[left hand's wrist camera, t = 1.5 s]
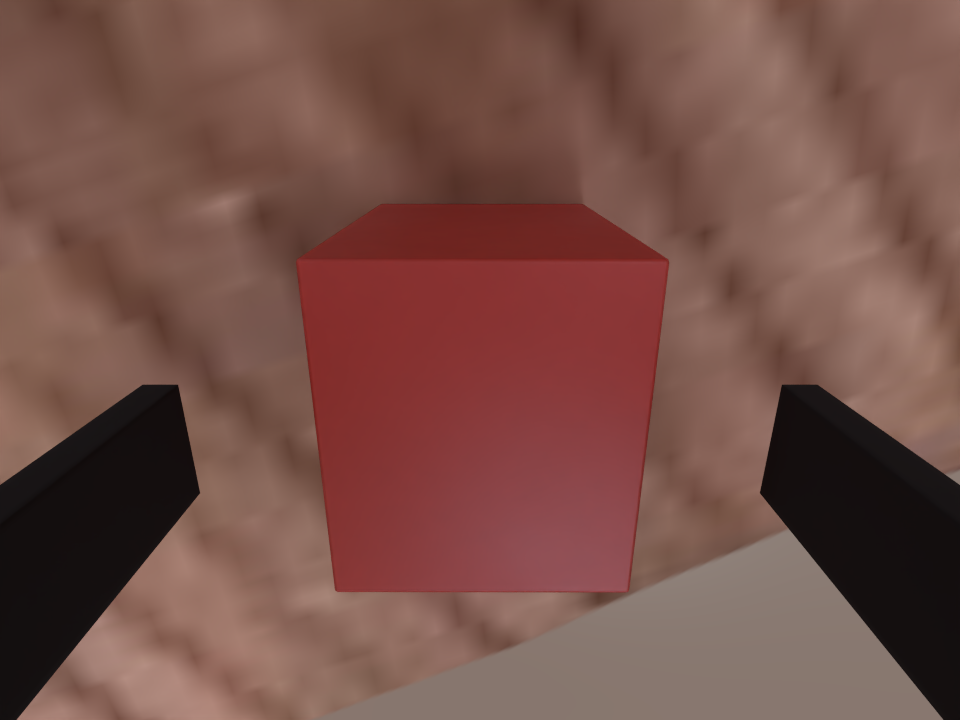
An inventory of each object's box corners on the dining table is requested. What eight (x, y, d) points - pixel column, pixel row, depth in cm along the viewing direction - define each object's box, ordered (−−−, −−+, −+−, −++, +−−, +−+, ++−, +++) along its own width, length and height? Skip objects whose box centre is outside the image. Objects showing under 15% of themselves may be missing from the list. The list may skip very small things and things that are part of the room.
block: (392, 412, 22) (334, 593, 13) (379, 203, 19) (294, 259, 10) (570, 412, 22) (630, 594, 13) (584, 203, 19) (671, 258, 10)
